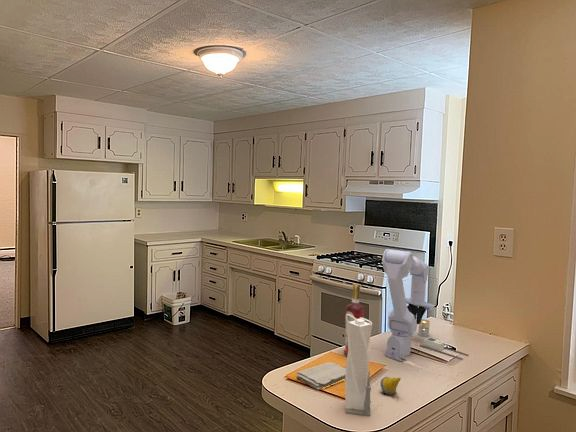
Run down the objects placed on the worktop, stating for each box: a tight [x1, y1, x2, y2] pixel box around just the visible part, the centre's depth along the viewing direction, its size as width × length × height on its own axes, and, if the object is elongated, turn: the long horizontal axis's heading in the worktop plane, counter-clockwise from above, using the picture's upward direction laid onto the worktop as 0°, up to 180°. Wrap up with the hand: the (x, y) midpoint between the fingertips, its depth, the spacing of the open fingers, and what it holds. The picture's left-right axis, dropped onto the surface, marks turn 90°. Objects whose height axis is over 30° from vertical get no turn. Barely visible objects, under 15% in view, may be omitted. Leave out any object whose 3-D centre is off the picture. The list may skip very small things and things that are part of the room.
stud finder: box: [422, 336, 445, 351], centre depth 175 cm, size 4×7×3 cm, turn 44°
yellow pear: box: [379, 376, 402, 396], centre depth 137 cm, size 5×5×10 cm
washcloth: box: [296, 361, 346, 391], centre depth 147 cm, size 12×18×3 cm, turn 131°
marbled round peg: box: [417, 318, 431, 338], centre depth 189 cm, size 4×4×8 cm
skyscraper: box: [344, 313, 374, 417], centre depth 127 cm, size 8×8×28 cm
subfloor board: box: [419, 344, 469, 361], centre depth 174 cm, size 20×21×2 cm
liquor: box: [343, 283, 366, 356], centre depth 166 cm, size 7×7×28 cm
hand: (415, 323), depth 181 cm, fingers closed
